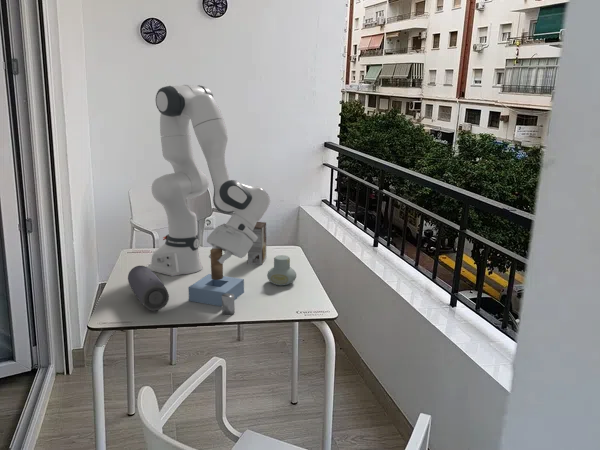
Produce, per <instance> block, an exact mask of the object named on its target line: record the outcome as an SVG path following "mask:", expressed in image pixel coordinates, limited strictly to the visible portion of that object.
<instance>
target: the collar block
mask: <svg viewBox="0 0 600 450" xmlns="http://www.w3.org/2000/svg"><path fill="white" fill-rule="evenodd" d="M187 288H188V301H189V302H195V303H200V304H206V305H211V306H212V305H213V306H217V307H218V306H219V307H222V295H223V294H227V293H230V294H234V301H235V300H237V298H239V297H240V296H241V295H243V294H244V293H245V279H244V278H238V277H232V276H225V275H223V279H220V280H213V279H212V278H211V273H208V274H207V275H205V276H204V277H202V278H200V279H199V280H197V281H195V283H193V284H191V285H189V286H188V287H187Z"/></svg>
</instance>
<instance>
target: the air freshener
mask: <svg viewBox="0 0 600 450" xmlns="http://www.w3.org/2000/svg"><path fill="white" fill-rule="evenodd" d="M290 259H291V258H290V256H288V255H284V254H282V255H276V256H274V258H273V267H271V268H270V269H269V270H268V271H267V273H266V276H267V279H268V281H269V282H270V283H272V284H274V285H277V286H279V287H280V286H281V287H282V286H283V287H284V286H287V285H290V284H292V283H293V282H295V280H296V278H297V272H296V271H295V269H294V268H292V267H291V260H290Z"/></svg>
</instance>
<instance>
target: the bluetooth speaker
mask: <svg viewBox="0 0 600 450" xmlns="http://www.w3.org/2000/svg"><path fill="white" fill-rule="evenodd" d="M127 282H128V284H129V286H130V289H131V290H132V292H133V294H134V297H136V298H137V300H138V301H139V302H140V303H141V305H143V306H144V307H145V308H146V309H148V310H150V311H159V310H161V309H163V308H165V307H166V306H167V305H168V303H169V299H170V295H169V292H168V290H167V287H166V286H165V285H164V283H163V282H162V280H161V279H160V278H159V277H158V276H157V275H156V274H155V272H154V271H151V270H150V269H149V268H147V267H146V265H136V266H134V267H132V268H131V269H130V270H129V272H128V275H127Z"/></svg>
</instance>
